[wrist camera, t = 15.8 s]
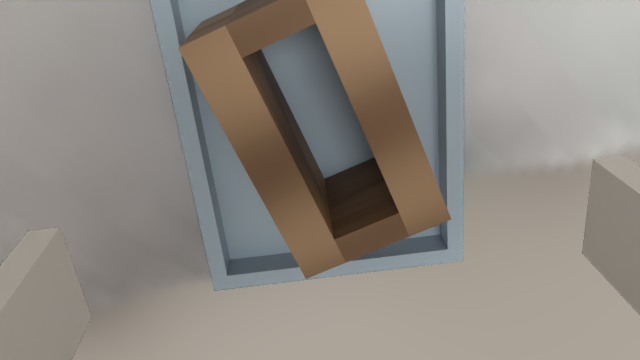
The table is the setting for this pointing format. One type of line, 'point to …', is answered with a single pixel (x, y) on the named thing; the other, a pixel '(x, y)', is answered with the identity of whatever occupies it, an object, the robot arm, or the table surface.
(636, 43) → the table surface
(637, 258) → the robot arm
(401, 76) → the tray
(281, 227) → the brown wooden hollow block
